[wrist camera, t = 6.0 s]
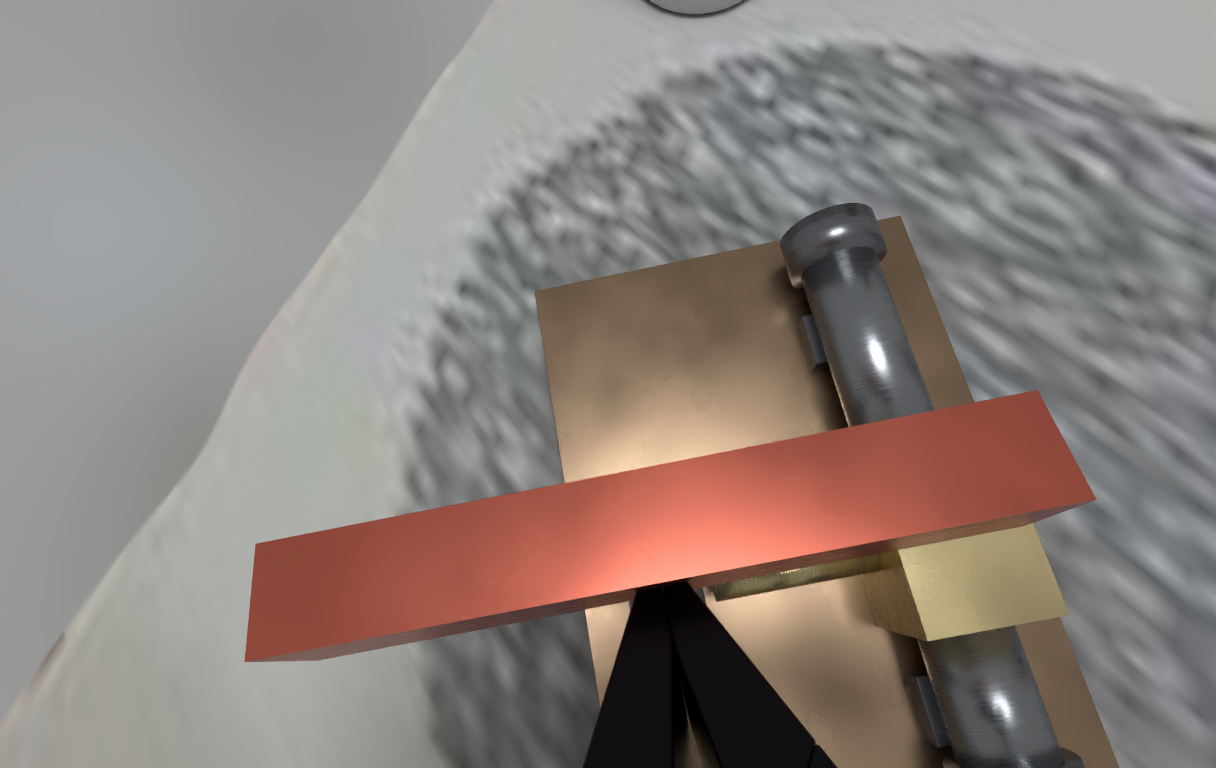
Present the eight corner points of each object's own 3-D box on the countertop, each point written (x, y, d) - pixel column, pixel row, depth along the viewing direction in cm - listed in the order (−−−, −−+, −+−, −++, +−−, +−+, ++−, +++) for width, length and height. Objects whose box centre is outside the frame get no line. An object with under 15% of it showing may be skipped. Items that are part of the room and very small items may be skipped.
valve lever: (860, 593, 20) (1103, 512, 8) (488, 663, 20) (242, 675, 9) (838, 528, 21) (1031, 379, 9) (483, 596, 21) (257, 531, 10)
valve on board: (1109, 800, 19) (1264, 880, 14) (633, 883, 20) (623, 990, 15) (889, 231, 26) (943, 152, 21) (540, 303, 26) (512, 242, 22)
